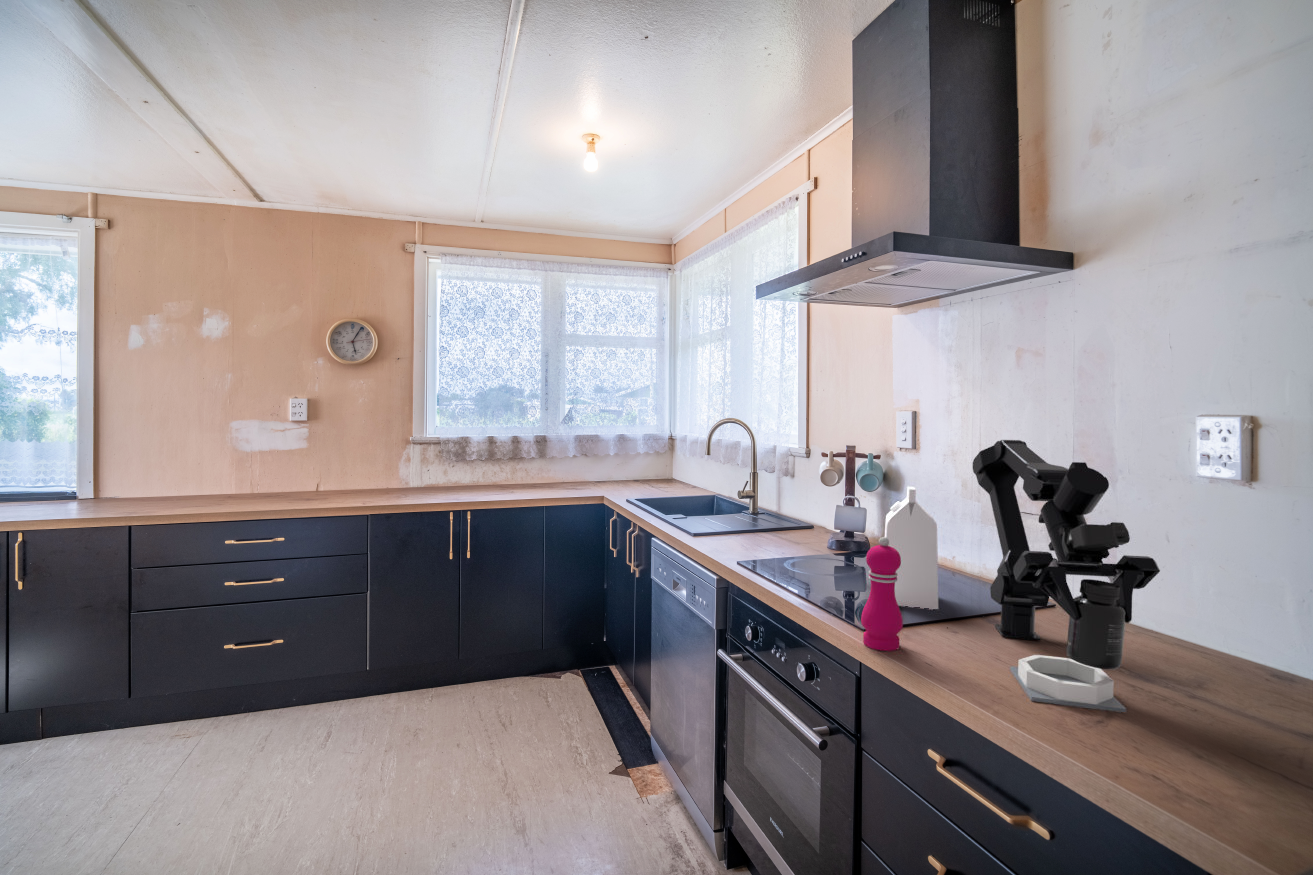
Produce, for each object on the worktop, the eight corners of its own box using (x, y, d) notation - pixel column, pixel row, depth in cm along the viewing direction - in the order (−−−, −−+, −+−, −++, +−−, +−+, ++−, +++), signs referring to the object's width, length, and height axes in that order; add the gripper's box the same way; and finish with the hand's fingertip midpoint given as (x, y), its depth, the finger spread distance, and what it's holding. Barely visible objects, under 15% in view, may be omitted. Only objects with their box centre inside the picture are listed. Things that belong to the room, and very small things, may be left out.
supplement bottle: (1109, 657, 95) (1118, 581, 95) (1128, 674, 89) (1138, 593, 88) (1058, 648, 97) (1067, 574, 97) (1073, 665, 91) (1083, 585, 90)
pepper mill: (852, 640, 115) (855, 534, 115) (883, 636, 118) (886, 532, 117) (878, 654, 109) (881, 541, 108) (910, 649, 111) (914, 539, 111)
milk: (938, 609, 135) (941, 492, 134) (882, 604, 139) (885, 489, 138) (932, 595, 147) (936, 486, 146) (881, 590, 150) (884, 484, 149)
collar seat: (1009, 669, 103) (1010, 651, 103) (1093, 679, 99) (1093, 660, 99) (1031, 700, 91) (1032, 680, 91) (1126, 712, 88) (1127, 691, 88)
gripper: (1024, 500, 97) (1054, 589, 87) (1155, 504, 94) (1203, 597, 84) (1002, 539, 105) (1027, 624, 95) (1122, 544, 102) (1162, 633, 92)
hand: (1102, 620), depth 91 cm, fingers closed on supplement bottle, 7 cm apart
